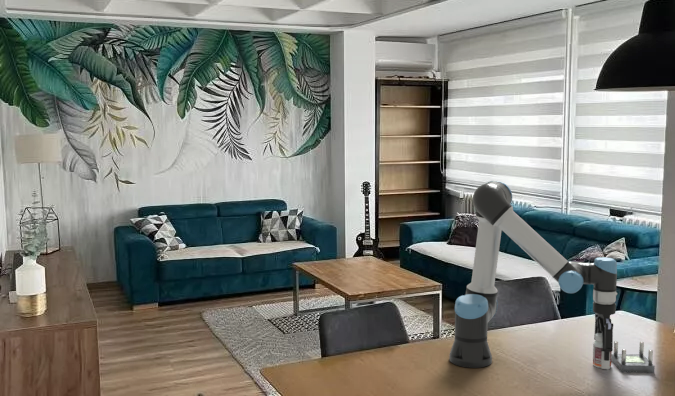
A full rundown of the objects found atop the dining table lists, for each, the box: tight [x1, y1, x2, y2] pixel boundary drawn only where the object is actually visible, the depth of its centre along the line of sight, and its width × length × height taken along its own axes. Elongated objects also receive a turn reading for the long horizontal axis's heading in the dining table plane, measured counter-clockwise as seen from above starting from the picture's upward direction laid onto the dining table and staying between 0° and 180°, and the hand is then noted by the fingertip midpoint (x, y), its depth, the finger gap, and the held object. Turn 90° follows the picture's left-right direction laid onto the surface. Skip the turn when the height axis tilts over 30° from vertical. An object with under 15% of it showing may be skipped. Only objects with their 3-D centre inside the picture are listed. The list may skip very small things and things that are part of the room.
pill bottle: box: [592, 333, 613, 369], centre depth 254 cm, size 6×6×11 cm
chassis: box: [611, 340, 656, 374], centre depth 253 cm, size 11×12×8 cm
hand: (602, 365), depth 254 cm, fingers closed on pill bottle, 6 cm apart
